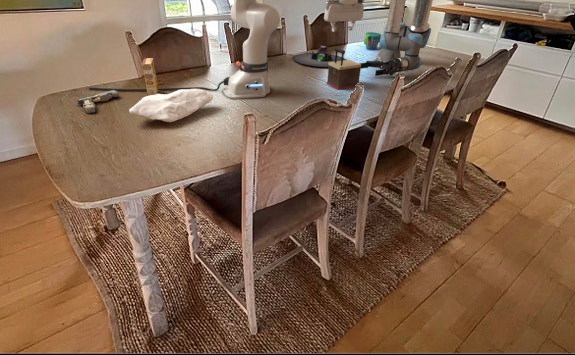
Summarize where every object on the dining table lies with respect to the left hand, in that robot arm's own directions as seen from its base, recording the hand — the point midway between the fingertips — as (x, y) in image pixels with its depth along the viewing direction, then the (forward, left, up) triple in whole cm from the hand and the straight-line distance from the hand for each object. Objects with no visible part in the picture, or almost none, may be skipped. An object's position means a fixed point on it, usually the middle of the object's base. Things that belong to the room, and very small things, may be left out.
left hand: (342, 30), depth 173 cm
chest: (+4, 0, -27) cm, 27 cm away
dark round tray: (+17, +45, -27) cm, 55 cm away
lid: (+4, 0, -17) cm, 17 cm away
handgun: (-109, +16, -27) cm, 114 cm away
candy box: (-87, +20, -27) cm, 93 cm away
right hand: (+19, 0, -20) cm, 27 cm away
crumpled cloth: (-84, -6, -27) cm, 89 cm away
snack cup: (+69, +60, -27) cm, 96 cm away
